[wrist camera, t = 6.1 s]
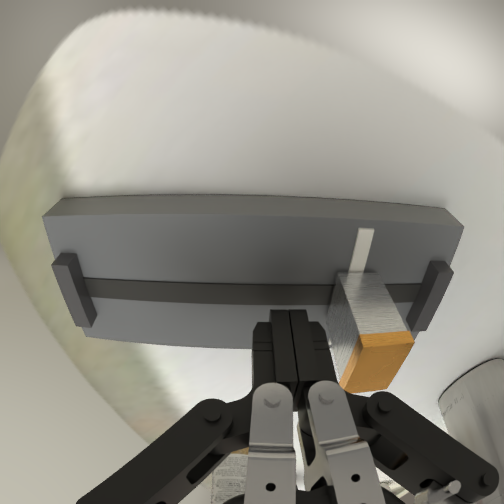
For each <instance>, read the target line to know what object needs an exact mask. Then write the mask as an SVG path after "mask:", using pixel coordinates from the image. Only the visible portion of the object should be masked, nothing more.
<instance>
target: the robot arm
mask: <svg viewBox="0 0 504 504" xmlns="http://www.w3.org/2000/svg"><path fill="white" fill-rule="evenodd" d="M327 341H328V340H327V336H326V332H325V329H324V328H323V327H322V326H321V324H320V323H319V322H318V321H309V320H308V315H307V311H306V309H288V310H287V309H270V313H269V322H257V324H256V326H255V328H254V330H253V336H252V390H251V391H250V393H249V394H248V395H247V396H245V397H244V398H242V399H240V400H237V401H233V402H229V403H225V402H224V401H222V400H219V399H206V400H203V401H201V402H199V403H198V404H197V405H196V406H194V407H193V408H192V409H191V410H190V411H189V412H188V413H187V414H185V415H184V416H183V417H182V418H181V419H180V420H179V421H177V422H176V423H175V424H174V425H173V426H172V427H170V428H169V429H168V430H167V431H166V432H165V433H163V434H162V435H161V436H160V437H159V438H157V439H156V440H155V441H154V442H153V443H151V444H150V445H149V446H148V447H147V448H146V449H144V450H143V451H142V452H141V453H139V454H138V455H137V456H136V457H134V458H133V459H132V460H131V461H129V462H128V463H127V464H125V465H124V466H123V467H122V468H120V469H119V470H118V471H117V472H115V473H114V474H113V475H112V476H110V477H109V478H107V479H106V480H105V481H103V482H102V483H101V484H99V485H98V486H97V487H95V488H94V489H93V490H91V491H90V492H89V493H87V494H86V495H84V496H83V497H82V498H80V499H79V500H78V501H77V502H76V504H178V503H179V502H180V501H181V500H182V499H183V498H184V497H186V496H187V495H188V494H189V493H190V492H191V491H192V490H193V489H195V488H196V486H198V485H199V484H200V483H201V482H202V481H203V480H204V479H205V478H206V477H207V476H208V475H209V474H210V473H211V472H213V471H214V470H215V469H216V468H217V467H218V466H219V465H220V464H221V463H222V462H223V461H224V460H225V459H226V458H227V457H228V456H229V455H230V454H231V452H234V451H237V450H241V449H244V448H247V447H249V451H248V463H247V475H246V486H245V493H243V494H240V495H237V496H235V497H233V498H230V499H229V500H227V501H225V502H224V503H222V504H405V503H404V502H403V501H401V500H400V499H399V498H398V497H396V496H395V495H394V494H393V493H392V492H390V491H389V490H387V489H386V488H384V487H382V486H381V485H380V481H379V478H378V474H377V471H376V468H375V466H376V467H377V468H378V469H380V470H381V471H382V472H384V473H385V474H386V475H388V476H389V477H390V478H392V479H393V480H394V481H396V482H397V483H398V484H400V485H401V486H402V487H404V488H405V489H406V490H408V491H409V492H411V493H412V494H413V495H415V499H414V504H504V360H503V359H494V360H491V361H488V362H486V363H484V364H482V365H480V366H478V367H476V368H475V369H473V370H471V371H470V372H468V373H467V374H466V375H464V376H463V377H461V378H460V379H459V380H457V381H456V382H455V383H454V384H453V385H452V386H450V387H449V388H448V389H447V390H446V391H445V393H444V394H443V395H442V396H441V398H440V400H439V402H438V405H439V408H440V411H441V413H442V416H443V419H444V422H445V424H446V427H447V430H448V433H449V435H448V434H447V433H446V432H444V431H443V430H441V429H440V428H439V427H437V426H436V425H434V424H433V423H432V422H430V421H429V420H427V419H426V418H425V417H423V416H422V415H421V414H419V413H418V412H416V411H415V410H414V409H412V408H411V407H410V406H408V405H407V404H406V403H404V402H403V401H401V400H400V399H399V398H397V397H396V396H395V395H393V394H391V393H389V392H384V391H380V392H376V393H374V394H373V395H371V396H370V397H364V396H359V395H354V394H351V393H348V392H347V391H345V390H344V389H343V388H342V387H341V386H340V385H339V383H338V382H337V379H336V374H335V370H334V365H333V361H332V357H331V352H330V350H329V344H328V342H327ZM296 411H298V418H299V421H298V424H297V431H298V437H299V442H300V447H301V452H302V457H303V463H304V485H305V490H306V491H302V490H296V453H295V450H294V448H293V412H296Z"/></svg>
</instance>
